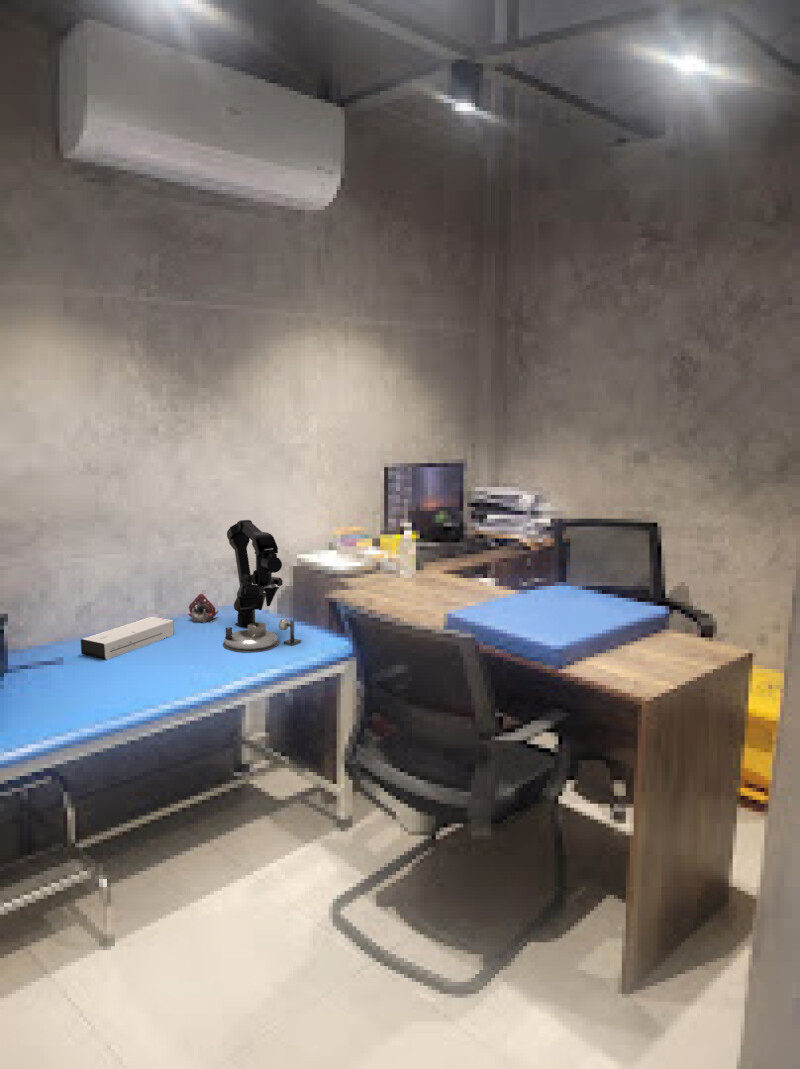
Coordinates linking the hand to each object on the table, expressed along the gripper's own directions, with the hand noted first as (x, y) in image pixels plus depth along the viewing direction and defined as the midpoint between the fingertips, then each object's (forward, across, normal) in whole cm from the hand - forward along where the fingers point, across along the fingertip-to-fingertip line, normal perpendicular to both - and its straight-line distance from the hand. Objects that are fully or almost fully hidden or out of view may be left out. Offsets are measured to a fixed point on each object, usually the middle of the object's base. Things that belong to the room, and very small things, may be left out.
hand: (264, 608), depth 308 cm
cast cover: (+8, +6, 0) cm, 10 cm away
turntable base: (+11, +10, 0) cm, 15 cm away
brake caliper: (+11, -10, -34) cm, 37 cm away
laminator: (+12, +28, -40) cm, 50 cm away
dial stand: (+11, +4, +14) cm, 18 cm away
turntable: (+11, +10, 0) cm, 15 cm away
